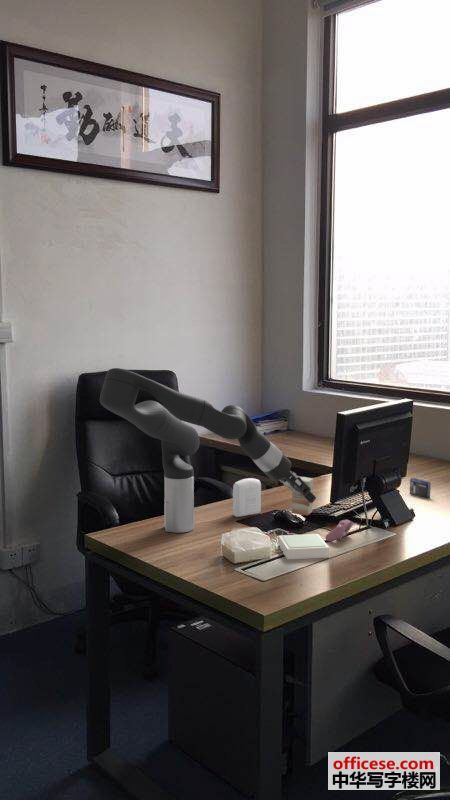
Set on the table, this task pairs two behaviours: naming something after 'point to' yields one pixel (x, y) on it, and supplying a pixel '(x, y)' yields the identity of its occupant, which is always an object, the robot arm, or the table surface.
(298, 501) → the skincare box
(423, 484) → the mini dv tape
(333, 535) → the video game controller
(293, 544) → the plinth
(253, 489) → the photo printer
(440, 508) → the table surface
